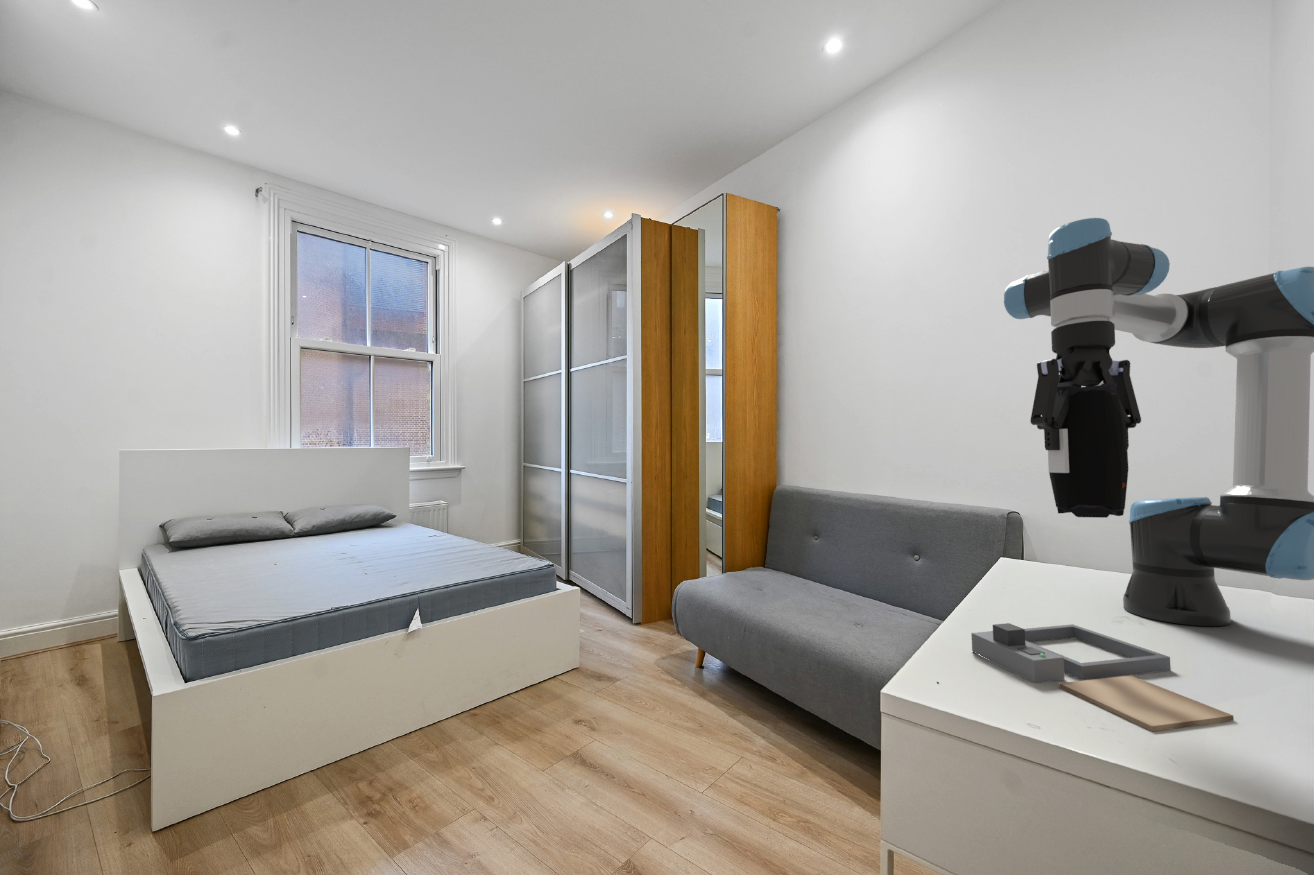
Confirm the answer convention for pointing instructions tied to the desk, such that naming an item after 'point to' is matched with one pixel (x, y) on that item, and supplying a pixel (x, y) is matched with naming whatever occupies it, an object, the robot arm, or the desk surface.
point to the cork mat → (1145, 703)
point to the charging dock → (1134, 664)
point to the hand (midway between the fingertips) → (1087, 472)
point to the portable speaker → (1093, 454)
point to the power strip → (1018, 653)
